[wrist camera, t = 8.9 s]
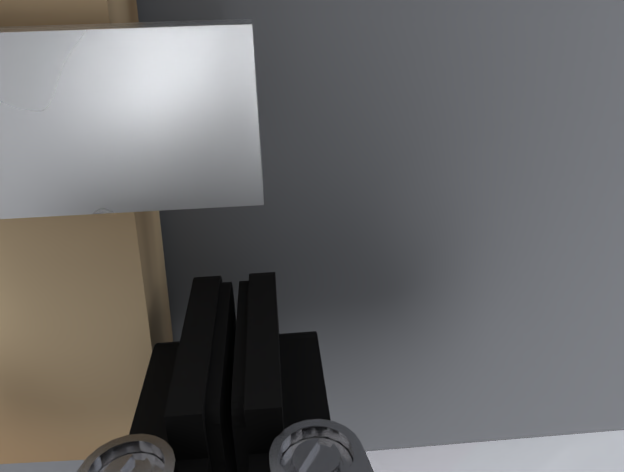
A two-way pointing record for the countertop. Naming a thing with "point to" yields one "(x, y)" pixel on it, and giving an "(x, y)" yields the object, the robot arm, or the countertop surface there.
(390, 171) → the charcoal mat
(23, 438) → the oak link
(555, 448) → the countertop surface
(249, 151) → the steel keeper
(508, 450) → the countertop surface
